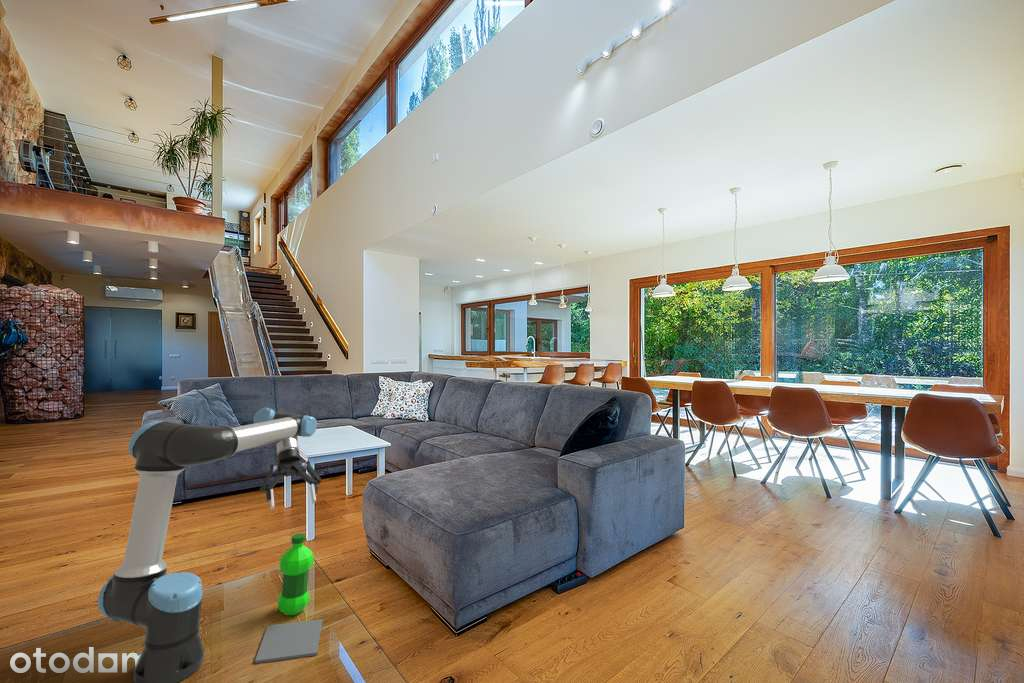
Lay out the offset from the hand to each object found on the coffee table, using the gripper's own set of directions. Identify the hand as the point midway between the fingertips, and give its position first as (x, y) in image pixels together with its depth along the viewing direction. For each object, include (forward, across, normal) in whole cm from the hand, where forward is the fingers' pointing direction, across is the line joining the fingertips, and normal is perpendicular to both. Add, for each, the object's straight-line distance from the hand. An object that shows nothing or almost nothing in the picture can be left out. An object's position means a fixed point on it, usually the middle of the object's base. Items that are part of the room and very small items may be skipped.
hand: (293, 505), depth 156 cm
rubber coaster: (+41, +4, -4) cm, 42 cm away
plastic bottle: (+30, 0, -15) cm, 34 cm away
